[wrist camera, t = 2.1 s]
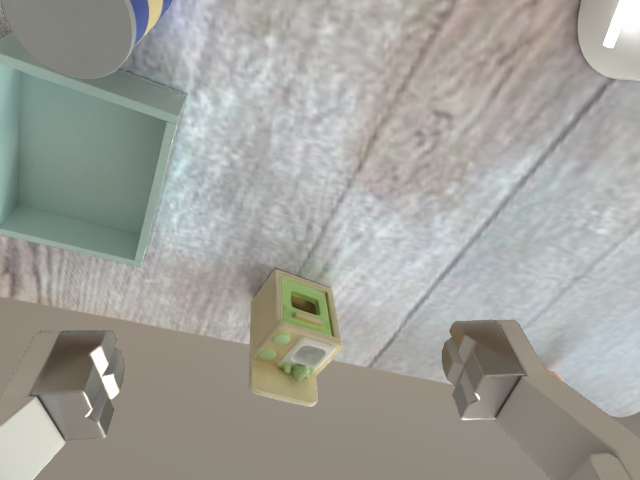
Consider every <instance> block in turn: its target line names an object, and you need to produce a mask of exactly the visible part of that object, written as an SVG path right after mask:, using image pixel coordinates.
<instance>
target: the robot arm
mask: <svg viewBox="0 0 640 480" xmlns="http://www.w3.org/2000/svg"><path fill="white" fill-rule="evenodd" d="M578 39H579V44H580V48H581V51H582V53H583V55H584V57H585V59H586V61H587V62H588V63H589V65H590V66H591V67H592V68H593V69H595V70H596V71H597V72H599V73H600V74H602V75H604V76H607V77H610V78H614V79H622V80H636V81H640V0H581V3H580V9H579V15H578ZM450 333H451V336H452V337H451V338H450V339H449V340H447V341H446V342H445V344H444V347H443V350H442V364H443V370H444V373H445V375H446V378H447V380H449V381H450V382H451V383H452V384H453V385H454V386H455V389H454V392H453V398H454V401H455V403H456V406H457V408H458V411H459V414H460V417H461V419H462V420H471V419H472V420H474V419H495V422H496V423H497V424H498V425H499V426H500V427H501V428H502V429H503V430H504V431H505V432H506V434H508V436H509V437H510V438H511V439H512V440H513V441H514V442H515V443H516V444H517V445H518V446H519V447H520V448H521V449H522V450H523V451H524V452H525V453H526V455H527V456H528V457H529V458H530V459H531V460H532V461H533V462H534V463H535V464H536V465H537V466H538V467H539V468H540V469H541V470H542V471H543V472H544V473H545V475H546V476H547V477H548V478H549V479H550V480H640V438H639V437H637V436H636V435H635V434H633V433H632V432H631V431H629V430H628V429H627V428H625V427H624V426H623V425H621V424H620V423H619V422H617V421H616V420H614V419H613V418H612V417H610V416H609V415H608V414H606V413H605V412H604V411H602V410H601V409H600V408H598V407H597V406H595V405H594V404H593V403H591V402H590V401H589V400H587V399H586V398H585V397H583V396H582V395H581V394H579V393H578V392H577V391H575V390H574V389H572V388H571V387H570V386H568V385H567V384H566V383H564V382H563V381H562V380H560V379H559V378H558V377H556V376H555V375H548V373H547V371H546V370H545V368H544V366H543V364H542V363H541V361H540V359H539V358H538V356H537V354H536V352H535V351H534V349H533V347H532V346H531V344H530V342H529V340H528V339H527V337H526V335H525V334H524V332H523V330H522V328H521V327H520V325H519V323H518V322H516V321H515V320H475V321H456V322H454V323H453V324H452V326H451V328H450ZM116 341H117V339H116V337H115V335H114V332H113V331H40V332H39V333H38V334H36V335H35V336H34V337H33V339H32V341H31V342H30V344H29V346H28V348H27V350H26V352H25V354H24V355H23V357H22V359H21V361H20V363H19V365H18V366H17V368H16V370H15V372H14V374H13V376H12V378H11V379H10V381H9V383H8V385H7V387H6V389H5V391H4V393H3V394H2V396H1V397H0V480H33V479H34V478H35V477H36V476H37V474H38V473H39V472H40V471H41V470H42V469H43V468H44V467H45V465H46V464H47V463H48V462H49V461H50V460H51V459H52V458H53V457H54V456H55V454H56V453H57V452H58V451H59V450H60V449H61V448H62V447H63V445H64V444H65V441H69V440H82V439H95V438H105V437H106V435H107V432H108V429H109V425H110V422H111V419H112V416H113V413H114V408H113V405H112V403H111V400H112V399H113V398H114V397H115V396H116V395H117V394H118V393H119V392H120V389H121V386H122V382H123V377H124V359H123V356H122V353H121V352H120V351H119V350H117V349H116V348H114V347H115V344H116Z"/></svg>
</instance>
